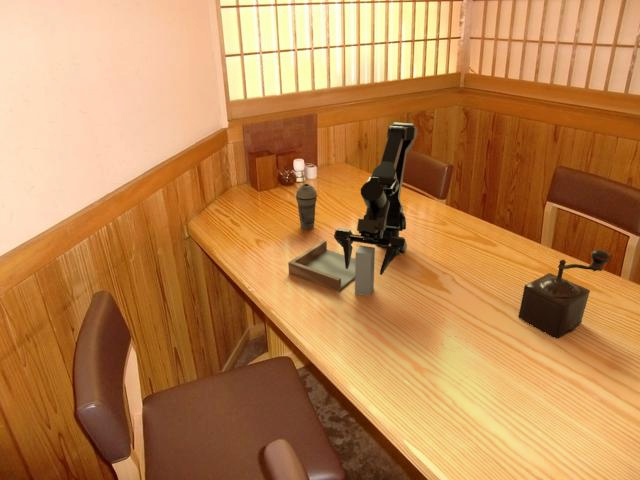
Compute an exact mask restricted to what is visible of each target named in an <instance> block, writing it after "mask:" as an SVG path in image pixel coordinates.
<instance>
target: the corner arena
mask: <svg viewBox="0 0 640 480" xmlns="http://www.w3.org/2000/svg"><path fill="white" fill-rule="evenodd" d="M327 241H328V240H326V239H325V240H324V239H323V240H321V241H320V242H318V243H316V244H315V245H313V246H312V247H310V248H308V249H307V250H305V251H304V252H302V253H300V255H298V256H296V257H295V258H293V259H291V260H290V261H288V262H287V264H288V274H290V275H292V276H295V277H298V278H300V279H302V280H305V281H309V282H310V283H314V284H317V285H319V286H322V287H324V288H328V289H329V290H333V291H336V292H339V293H340V291H341V290H343V289H344V288H345V287H346V286H347V285H349V284H350V283H351V282H352V281H355V260H356V257H355V258H354V257H352V256H351V259H350V264H349V267H348V269H346V267H345V257H344V254H342V253H340V252H335V251H333V250H330V249H327V247H328V244H327V243H328V242H327Z"/></svg>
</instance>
